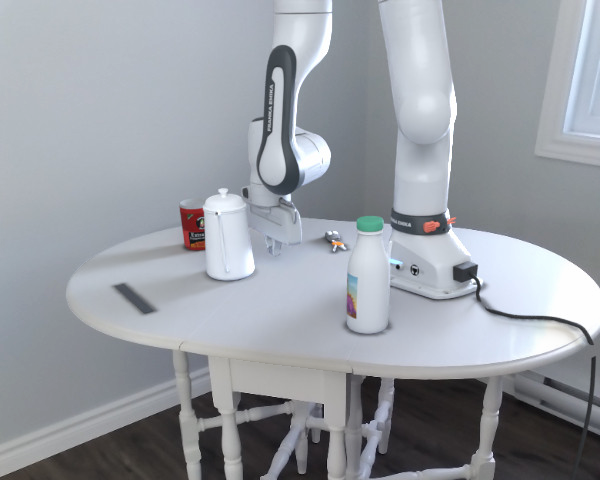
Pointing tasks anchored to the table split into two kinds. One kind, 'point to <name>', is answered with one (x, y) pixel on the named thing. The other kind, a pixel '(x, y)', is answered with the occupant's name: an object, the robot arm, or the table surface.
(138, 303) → the tape line
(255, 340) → the table surface
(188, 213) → the canned food
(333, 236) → the key chain
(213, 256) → the coffeepot
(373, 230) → the milk bottle
